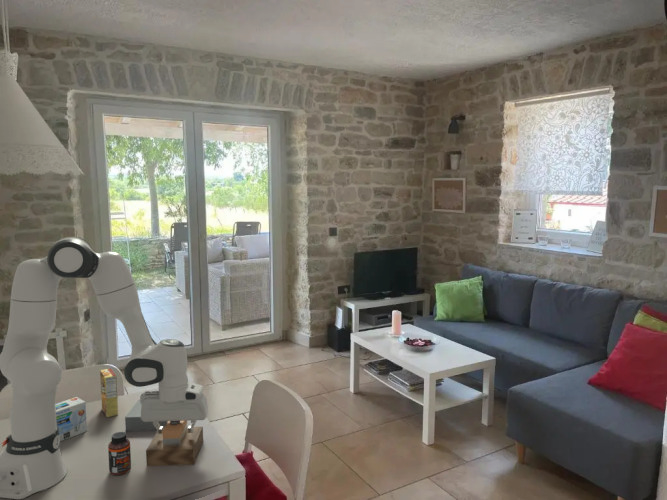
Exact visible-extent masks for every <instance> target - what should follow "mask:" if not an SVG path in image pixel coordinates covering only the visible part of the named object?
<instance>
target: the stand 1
mask: <svg viewBox="0 0 667 500" xmlns="http://www.w3.org/2000/svg"><path fill="white" fill-rule="evenodd" d="M141 406H142V404H141V403H140V399H138V400H137V401H136V403H134V405H133V406H132V408H131V409H130V410H129V412H128V413H127V414H126V415H125V417H124V424H125V431H126V432H135V431H138V432H140V431H157V429H156V428H155V426H154V425H153V421H151V422H143V421H142V419H141ZM167 422H168V421H159V422H158V423H159V424H160V426H163V428H165V426H166V424H167Z"/></svg>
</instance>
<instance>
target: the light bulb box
mask: <svg viewBox="0 0 667 500" xmlns="http://www.w3.org/2000/svg"><path fill="white" fill-rule="evenodd" d="M55 407H56V421H57V426H58V428H59V437H60V442H62V441H65V440H67V439H70V438H73V437H75V436H78V435H80V434H83V433H86V432H87V431H88V424H87V423H88V422H87V408H86V401H85V400H83V399H81V398H80V397H78V396H75V397H72V398H69V399H67V400H66V399H65V400H62V401H60V402H56V403H55Z"/></svg>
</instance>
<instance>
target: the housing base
mask: <svg viewBox="0 0 667 500" xmlns="http://www.w3.org/2000/svg"><path fill="white" fill-rule="evenodd" d="M187 427H188V423H187V424H186V426H185V428H184V430H183V432H182V434H181V436H180V438H176V439H163V447H165V446H180V445H181V442H182V440H183V438H184V436H185V434H186V432H187V430H188V429H187Z"/></svg>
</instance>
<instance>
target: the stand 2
mask: <svg viewBox="0 0 667 500" xmlns="http://www.w3.org/2000/svg"><path fill="white" fill-rule="evenodd" d="M188 427H189V426H187V429H188ZM163 429H164V428H163ZM203 442H204V427H203V426H194V431H193V433H188V430H187V432H186V434H185V436H184V438H183V440H182V442H181V445H180V446H165V447H163V433H162V434H157V432H156V433H155V435H154V437H153V438H152V440H151V441H150V443H149V444H148V446H147V448H146V449H145V457H146V461H145V462H146V467H154V466H155V467H158V466H159V467H160V466H161V467H162V466H187V465H188V466H191V465H193V466H194V465H195V463H196V460H197V457H198V455H199V452H200V450H201V447H202V444H204V443H203Z"/></svg>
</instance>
